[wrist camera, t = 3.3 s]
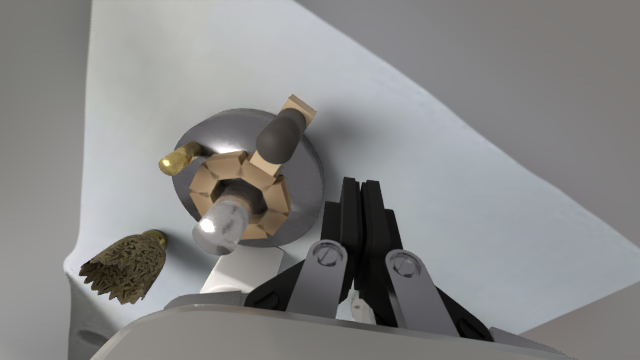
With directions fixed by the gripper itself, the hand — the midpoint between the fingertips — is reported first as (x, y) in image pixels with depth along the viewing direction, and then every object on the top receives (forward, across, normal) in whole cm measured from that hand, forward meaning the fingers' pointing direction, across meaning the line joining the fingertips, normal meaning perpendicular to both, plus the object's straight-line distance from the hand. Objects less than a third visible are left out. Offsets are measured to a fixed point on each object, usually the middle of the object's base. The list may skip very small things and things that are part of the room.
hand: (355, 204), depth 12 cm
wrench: (+10, +8, +5) cm, 14 cm away
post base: (+14, +10, +8) cm, 19 cm away
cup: (+14, +25, +20) cm, 35 cm away
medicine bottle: (+13, +11, +21) cm, 27 cm away
